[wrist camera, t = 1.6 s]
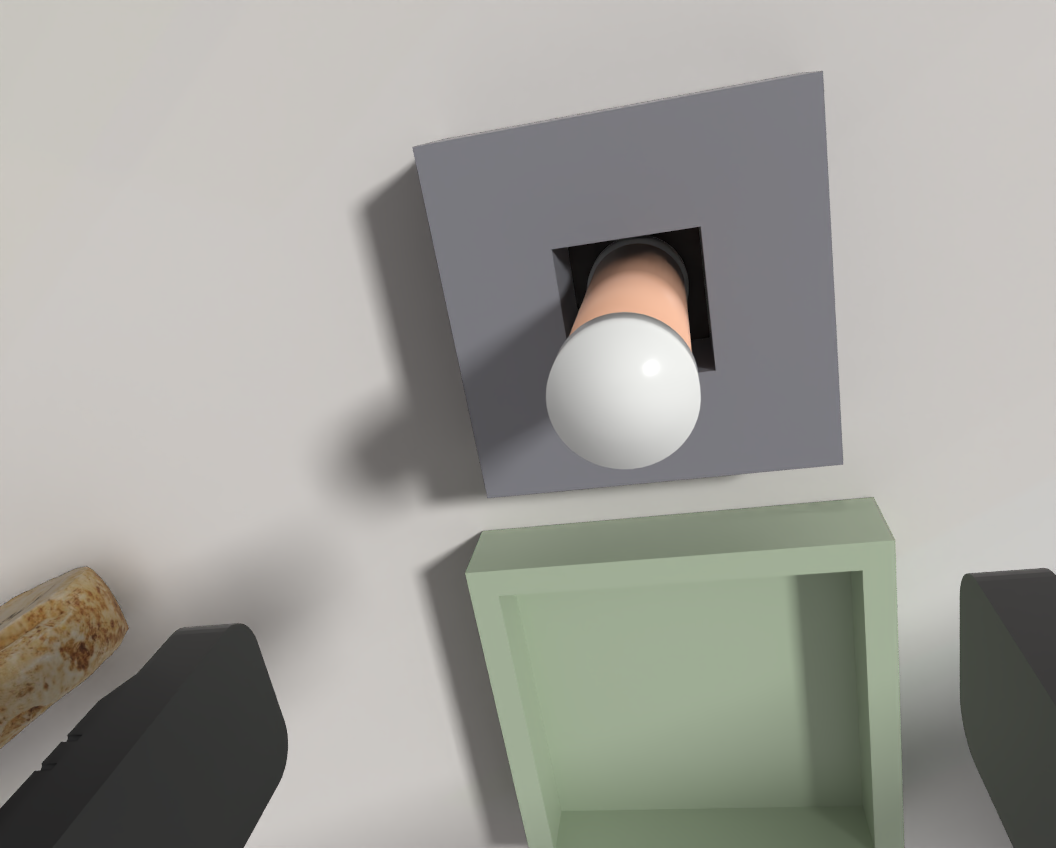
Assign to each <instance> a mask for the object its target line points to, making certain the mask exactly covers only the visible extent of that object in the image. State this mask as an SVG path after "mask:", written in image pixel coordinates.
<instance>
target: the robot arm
mask: <svg viewBox="0 0 1056 848" xmlns="http://www.w3.org/2000/svg"><path fill="white" fill-rule="evenodd" d="M960 705H961V713H962V720H963V725H964V730H965V735H966V738H967V742H968V746H969V749H970V752H971V755H972V758H973V760H974V762H975V765H976V767H977V769H978V771H979V774H980V776H981V778H982V780H983V782H984V784H985V787H986V789H987V791H988V793H989V795H990V797H991V800H992V802H993V804H994V806H995V808H996V810H997V813H998V815H999V817H1000V819H1001V821H1002V824H1003V826H1004V828H1005V830H1006V832H1007V834H1008V837H1009V839H1010V841H1011V843H1012V845H1013V847H1014V848H1056V575H1055V574H1054V573H1053V572H1052V571H1051V570H1049V569H1046V568H1039V569H1024V570H1010V571H996V572H982V573H968V574H965V575H964V576H963V578H962V581H961V586H960ZM287 753H288V736H287V729H286V725H285V721H284V718H283V715H282V713H281V710H280V707H279V704H278V701H277V698H276V695H275V692H274V689H273V686H272V683H271V680H270V677H269V675H268V672H267V669H266V666H265V663H264V660H263V657H262V654H261V651H260V648H259V645H258V642H257V640H256V637H255V635H254V634H253V632H252V631H251V629H250V628H249V627H247V626H246V625H244V624H223V625H209V626H195V627H184V628H180V629H179V630H177V631H175V632H174V633H173V634H172V635H171V636H170V637H169V639H168V640H167V641H166V642H165V643H164V644H163V645H162V646H161V648H160V649H159V650H158V651H157V652H156V653H155V654H154V655H153V657H152V658H151V659H150V660H149V661H148V662H147V663H146V664H145V666H144V667H143V668H142V669H141V670H140V671H139V672H138V673H137V674H136V675H135V676H133V677H132V678H130V679H129V680H128V681H126V682H125V683H123V684H122V685H121V686H119V687H118V688H116V689H115V690H114V691H112V692H111V693H109V694H108V695H107V696H105V697H104V698H102V699H101V700H100V701H98V702H97V703H96V705H95V706H94V707H93V708H92V709H91V710H90V711H89V712H88V713H87V714H86V715H85V717H84V718H83V719H82V720H81V721H80V722H79V723H78V724H77V725H76V726H75V728H74V729H73V730H72V731H71V732H70V733H69V734H68V740H67V742H61V743H60V744H59V745H58V746H57V747H56V748H55V749H54V750H53V752H52V753H51V754H50V755H49V756H48V757H47V758H46V759H45V760H44V761H43V763H42V768H41V771H34V772H33V773H32V775H31V776H30V777H29V778H28V779H27V780H26V781H25V782H24V783H23V784H22V785H21V787H20V788H19V789H18V790H17V791H16V792H15V793H14V794H13V795H12V796H11V798H10V799H9V800H8V801H7V802H6V803H5V804H4V805H3V806H2V807H1V808H0V848H244V846H245V844H246V842H247V841H248V839H249V837H250V835H251V833H252V831H253V830H254V828H255V826H256V824H257V822H258V821H259V819H260V817H261V815H262V813H263V811H264V810H265V808H266V806H267V804H268V802H269V800H270V799H271V797H272V795H273V793H274V791H275V790H276V788H277V786H278V784H279V782H280V780H281V778H282V775H283V772H284V769H285V765H286V760H287Z"/></svg>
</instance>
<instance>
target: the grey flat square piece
mask: <svg viewBox="0 0 1056 848" xmlns="http://www.w3.org/2000/svg"><path fill="white" fill-rule="evenodd" d="M413 152H414V157H415V161H416V166H417V171H418V175H419V180H420V185H421V189H422V194H423V199H424V203H425V208H426V213H427V217H428V222H429V227H430V231H431V236H432V241H433V245H434V250H435V255H436V259H437V264H438V269H439V274H440V278H441V283H442V288H443V292H444V297H445V302H446V306H447V311H448V316H449V320H450V325H451V330H452V334H453V339H454V344H455V348H456V353H457V358H458V362H459V367H460V372H461V376H462V381H463V386H464V390H465V395H466V400H467V404H468V409H469V414H470V418H471V423H472V428H473V433H474V437H475V442H476V447H477V451H478V456H479V461H480V465H481V470H482V475H483V479H484V484H485V489H486V493H487V498H495V497H505V496H516V495H526V494H537V493H547V492H558V491H568V490H579V489H590V488H600V487H611V486H621V485H632V484H642V483H653V482H664V481H674V480H685V479H695V478H706V477H716V476H727V475H737V474H748V473H759V472H769V471H780V470H790V469H801V468H811V467H822V466H833V465H843V450H842V431H841V411H840V392H839V373H838V353H837V334H836V315H835V296H834V276H833V257H832V238H831V218H830V199H829V180H828V161H827V141H826V122H825V103H824V84H823V71H816V72H804V73H798V74H792V75H787V76H781V77H776V78H771V79H765V80H760V81H755V82H749V83H744V84H738V85H733V86H728V87H722V88H717V89H712V90H706V91H701V92H695V93H690V94H685V95H679V96H674V97H668V98H663V99H658V100H652V101H647V102H642V103H636V104H631V105H625V106H620V107H615V108H609V109H604V110H599V111H593V112H588V113H582V114H577V115H572V116H566V117H561V118H555V119H550V120H545V121H539V122H534V123H529V124H523V125H518V126H512V127H507V128H502V129H496V130H491V131H486V132H480V133H475V134H469V135H464V136H459V137H453V138H448V139H443V140H439V141H435V142H430V143H426V144H422V145H418V146H414V147H413ZM694 227H698V228H699V237H700V247H701V256H702V266H703V275H704V285H705V294H706V303H707V313H708V322H709V332H710V338H703V339H696V340H691V350H692V354H693V356H694V358H695V361H696V364H697V369H698V374H699V382H700V393H701V402H700V411H699V415H698V419H697V421H696V424H695V426H694V428H693V430H692V432H691V434H690V435H689V437H688V438H687V439H686V441H685V442H684V443H683V444H682V445H681V446H680V447H679V448H678V449H677V450H676V451H675V452H674V453H672V454H671V455H670V456H668V457H666V458H665V459H663V460H661V461H659V462H657V463H654V464H652V465H649V466H645V467H642V468H635V469H613V468H608V467H603V466H600V465H597V464H594V463H592V462H589V461H587V460H585V459H584V458H582V457H580V456H579V455H577V454H576V453H575V452H573V451H572V450H571V449H570V448H569V447H568V446H567V445H566V444H565V443H564V442H563V441H562V440H561V438H560V437H559V436H558V434H557V433H556V431H555V429H554V427H553V425H552V423H551V420H550V418H549V414H548V410H547V404H546V387H547V381H548V378H549V374H550V371H551V369H552V366H553V364H554V361H555V359H556V356H557V354H558V352H559V350H560V348H561V347H562V345H563V344H564V342H565V341H566V339H567V338H568V337H569V335H570V333H571V330H572V327H573V325H574V322H575V320H576V317H577V314H578V309H577V303H576V296H575V290H574V284H573V278H572V271H571V265H570V259H569V253H568V247H571V246H577V245H584V244H590V243H597V242H603V241H609V240H616V239H622V238H629V237H635V236H642V235H648V234H655V233H661V232H668V231H674V230H681V229H687V228H694Z"/></svg>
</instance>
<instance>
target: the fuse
mask: <svg viewBox="0 0 1056 848" xmlns="http://www.w3.org/2000/svg"><path fill="white" fill-rule="evenodd" d="M688 294H689V284H688V276H687V271H686V267H685V265H684V262H683V260H682V259H681V257H680V256H679V254H678V253H677V252H676V251H675V249H674V248H672V247H671V246H670V245H669V244H667V243H666V242H664V241H662V240H660V239H658V238H655V237H652V236H647V235H642V236H635V237H629V238H622V239H618V240H616V241H614V242H613V243H611V244H610V245H608V246H607V247H606V248H605V249H604V250H603V251H602V252H601V253H600V255H599V256H598V257H597V259H596V261H595V263H594V265H593V267H592V269H591V272H590V275H589V278H588V283H587V291H586V294H585V296H584V299H583V302H582V304H581V307H580V309H579V312H578V314H577V317H576V320H575V322H574V325H573V327H572V330H571V333H570V335H569V337H568V338H567V339H566V341H565V342H564V344H563V345H562V347H561V348H560V350H559V352H558V354H557V356H556V359H555V361H554V364H553V366H552V369H551V371H550V374H549V378H548V381H547V387H546V404H547V410H548V414H549V418H550V420H551V423H552V425H553V427H554V429H555V431H556V433H557V434H558V436H559V437H560V438H561V440H562V441H563V442H564V443H565V444H566V445H567V446H568V447H569V448H570V449H571V450H572V451H573V452H575V453H576V454H577V455H579V456H580V457H582V458H584V459H585V460H587V461H589V462H592V463H594V464H597V465H600V466H603V467H608V468H613V469H635V468H642V467H645V466H649V465H652V464H654V463H657V462H659V461H661V460H663V459H665V458H666V457H668V456H670V455H671V454H672V453H674V452H675V451H676V450H677V449H678V448H679V447H680V446H681V445H682V444H683V443H684V442H685V441H686V439H687V438H688V437H689V435H690V434H691V432H692V430H693V428H694V426H695V424H696V421H697V419H698V415H699V411H700V402H701V393H700V382H699V374H698V369H697V364H696V361H695V358H694V356H693V354H692V350H691V339H690V329H689V318H688V308H687V300H688Z"/></svg>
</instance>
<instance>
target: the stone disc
mask: <svg viewBox="0 0 1056 848" xmlns="http://www.w3.org/2000/svg"><path fill="white" fill-rule="evenodd" d="M128 629H129V628H128V625H127V623H126V620H125V618H124V616H123V613H122V611H121V609H120V607H119V605H118V603H117V601H116V599H115V597H114V596H113V594H112V593H111V591H110V589H109V588H108V586H107V585H106V584H105V583H104V581H103V580H102V579H101V578H100V576H98V575H97V574H96V573H95V572H94V571H93V570H92V569H90V568H89V567H81V568H77V569H74V570H72V571H69V572H67V573H65V574H63V575H61V576H59V577H58V578H54V579H51V580H49V581H47V582H45V583H43V584H41V585H39V586H37V587H35V588H33V589H31V590H29V591H27V592H24V593H22V594H20V595H18V596H16V597H14V598H12V599H11V600H9V601H8V602H7V603H5V604H4V605H2V606H0V749H1V748H2V747H3V746H4V745H5V744H6V743H8V742H9V741H10V740H11V739H13V738H14V737H15V736H16V735H17V734H18V733H19V732H21V731H22V730H23V729H24V728H25V727H26V726H27V725H29V724H30V723H31V722H32V721H33V720H35V719H36V718H37V717H38V716H40V715H41V714H43V713H44V712H45V711H46V710H47V709H48V708H49V707H50V706H51V705H53V704H54V703H55V702H57V701H58V700H59V699H60V698H62V697H63V696H64V695H65V694H67V693H68V692H70V691H71V690H72V689H74V688H75V687H77V686H78V685H79V684H81V683H82V682H83V681H84V680H85V679H87V678H88V677H89V676H90V675H91V674H93V673H94V671H95V670H96V669H97V668H98V667H99V666H100V665H101V664H102V663H103V662H104V661H105V660H106V659H107V658H108V657H110V656H111V655H112V654H113V652H114V651H115V650H116V649H117V648H118V647H119V646H120V644H121V643H122V640H123V638H124V636H125V634H126V632H127V630H128Z"/></svg>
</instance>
